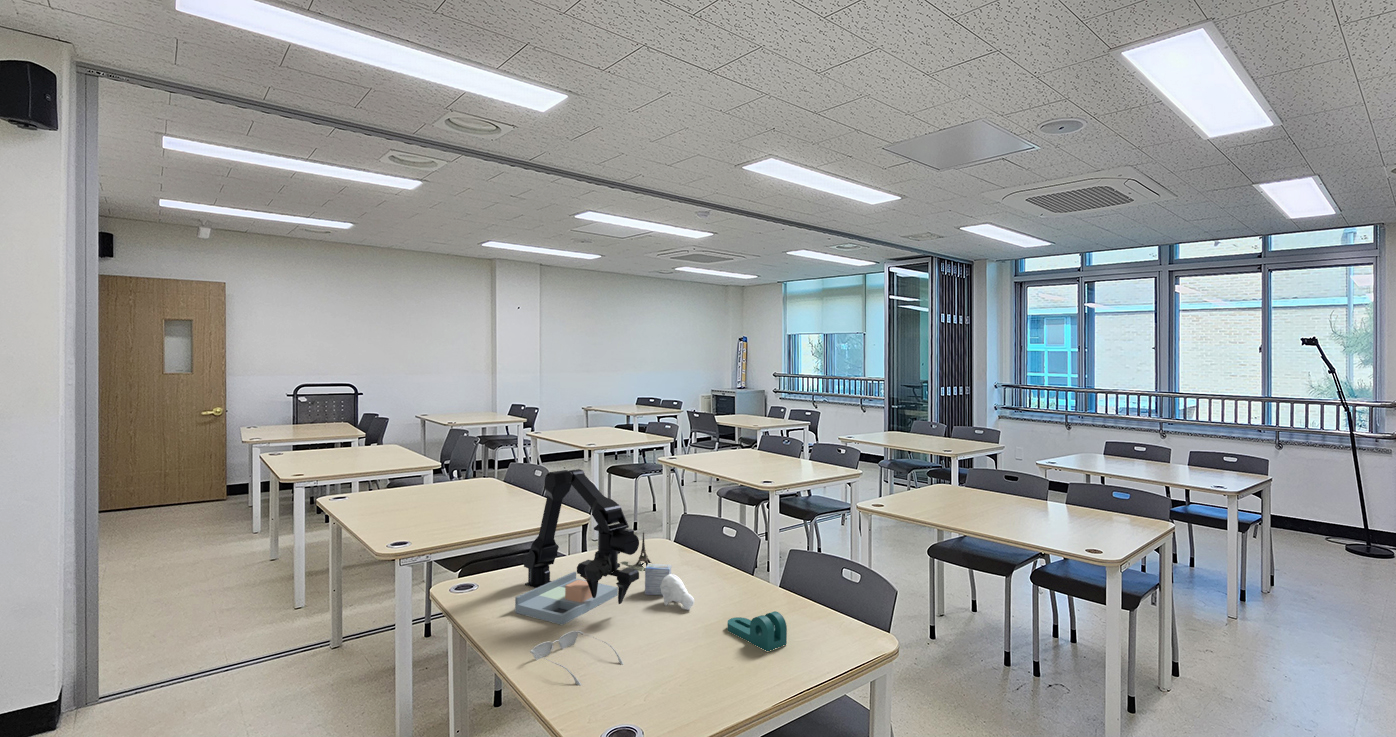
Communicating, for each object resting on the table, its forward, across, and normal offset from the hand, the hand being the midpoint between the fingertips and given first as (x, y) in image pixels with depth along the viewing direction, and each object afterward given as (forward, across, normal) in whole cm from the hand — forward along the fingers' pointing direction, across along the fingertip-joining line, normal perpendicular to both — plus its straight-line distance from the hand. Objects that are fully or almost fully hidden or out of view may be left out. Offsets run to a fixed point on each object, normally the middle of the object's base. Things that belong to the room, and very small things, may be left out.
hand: (607, 600), depth 184 cm
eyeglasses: (+4, +13, -29) cm, 32 cm away
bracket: (+4, +44, +6) cm, 44 cm away
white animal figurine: (+4, +16, +15) cm, 22 cm away
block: (+1, -10, 0) cm, 10 cm away
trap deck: (+3, -14, 0) cm, 14 cm away
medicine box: (+4, +5, +21) cm, 22 cm away
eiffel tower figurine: (+4, -15, +42) cm, 45 cm away
